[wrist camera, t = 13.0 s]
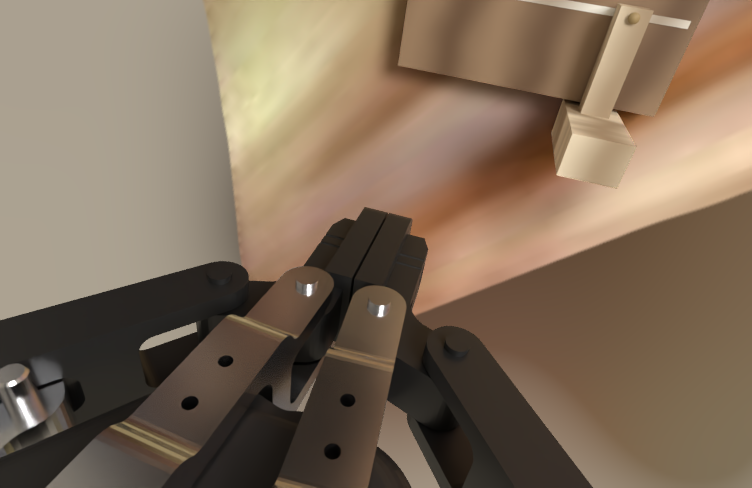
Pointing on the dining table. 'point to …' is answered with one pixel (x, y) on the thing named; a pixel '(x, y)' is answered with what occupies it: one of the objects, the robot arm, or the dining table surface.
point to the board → (546, 44)
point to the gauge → (601, 108)
